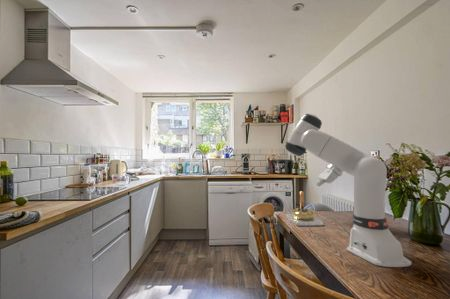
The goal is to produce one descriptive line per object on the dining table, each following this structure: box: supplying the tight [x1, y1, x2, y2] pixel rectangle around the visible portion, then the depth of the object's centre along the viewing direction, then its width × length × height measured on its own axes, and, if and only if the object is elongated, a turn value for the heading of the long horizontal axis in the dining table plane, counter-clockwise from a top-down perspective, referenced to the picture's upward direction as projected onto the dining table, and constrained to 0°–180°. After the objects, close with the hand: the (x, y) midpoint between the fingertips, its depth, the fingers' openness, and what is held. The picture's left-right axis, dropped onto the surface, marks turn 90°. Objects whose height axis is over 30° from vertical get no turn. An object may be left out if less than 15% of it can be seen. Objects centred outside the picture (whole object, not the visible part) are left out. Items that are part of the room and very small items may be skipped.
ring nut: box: [292, 190, 315, 220], centre depth 146 cm, size 12×15×14 cm
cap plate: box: [285, 213, 324, 227], centre depth 144 cm, size 20×15×2 cm
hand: (317, 185), depth 151 cm, fingers closed
